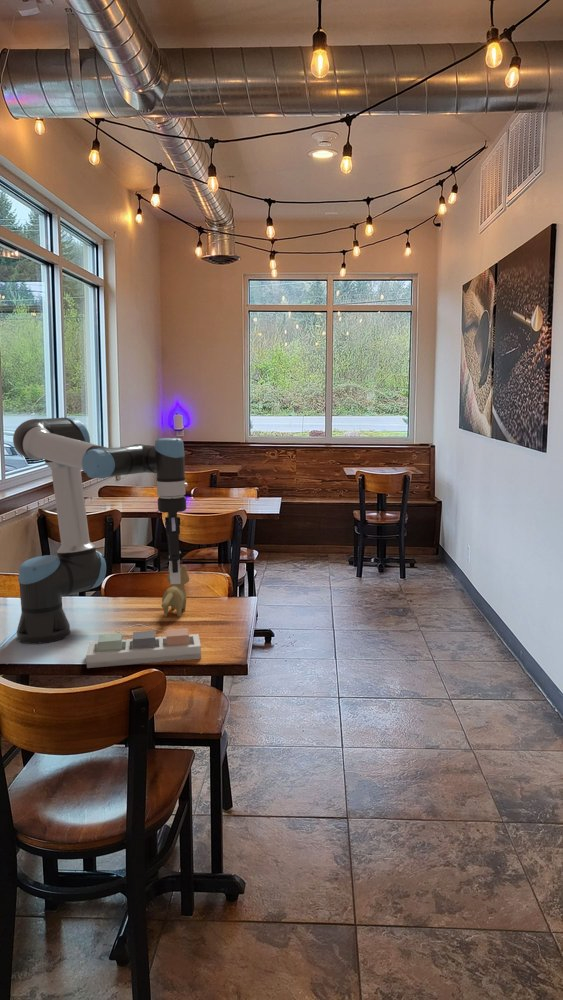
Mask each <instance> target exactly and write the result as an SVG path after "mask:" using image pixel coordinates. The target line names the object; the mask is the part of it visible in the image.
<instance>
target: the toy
mask: <svg viewBox="0 0 563 1000" xmlns="http://www.w3.org/2000/svg"><path fill="white" fill-rule="evenodd" d="M180 579H181V584H170V587H168V588H167V589H166V590H165V591H164V594H163V595H162V598H161V608H162V609H163V615H164V617H165V618H166V617H168V616H169V613H168V610H169V607H170V608H171V610H176V614H177V615H176V616H177V618H180V617H182V610H186V608H187V590H186V589H185V585H187V583H188V582H190V575H189V574H188V568H187V565H186V564H183V565H181V566H180ZM167 582H168V583H170V569H169V568H168V574H167Z"/></svg>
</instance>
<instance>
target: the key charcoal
mask: <svg viewBox="0 0 563 1000" xmlns="http://www.w3.org/2000/svg"><path fill="white" fill-rule="evenodd" d="M132 636H133V637H132V639H133V648H138V647H151V646H156V641H155V637H156V629H152V630H144V631H143V630H142V631H133V632H132Z"/></svg>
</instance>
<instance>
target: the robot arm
mask: <svg viewBox="0 0 563 1000" xmlns="http://www.w3.org/2000/svg"><path fill="white" fill-rule="evenodd" d="M12 437H13V438H12V441H13V443H12V444H13V446H14V448H15V450H16V451H17V452H18V454H19V455H21V456H22V457H24V458H27V459H30V460H33V461H41V460H43V459H44V463H45V465H46V466H48V467H49V468H50V470H51V476H52V478H51V479H52V484H53V493H54V498H55V499H54V501H55V507H56V515H57V522H58V529H59V530H58V531H59V538H60V544H61V545H60V547H59V548H58V550H57V551H56V553H57V555H56V554H55V555H54V554H49V555H48V554H47V555H45V554H44V555H43V556H41V555H40V556H35V557H32V558H29V559H27V560H25V561H24V562H22V563H21V564H20V566H19V568H18V579H17V580H18V583H19V585H18V586H19V596H20V597H19V598H20V608H21V613H20V616H19V617H20V618H19V622H18V625H17V629H16V639H17V641H18V642H20V643H24V644H31V645H32V644H33V645H34V644H37V645H39V644H47V643H52V642H53V643H54V642H56V641H60V640H62V639H64V638H66V637H68V636H69V635H70V634H71V626H70V623H69V620H68V618H67V616H66V613H65V610H64V608H63V597H67V596H70V595H74V594H77V593H81V592H86V591H91V589H95V588H97V587H99V586H100V585H101V584H102V583H103V581H104V579H105V578H106V575H107V562H106V560H105V559H106V558H105V557H104V556H103V554H102V553H101V552H100V551H99V550H97V547H96V545H95V544H94V543H92V541H90V535H89V526H88V524H89V523H88V517H87V509H86V502H85V494H84V488H83V487H84V486H83V485H84V484H83V480H82V479H83V477H82V471H83V472H84V474H86V476H87V477H88V478H91V479H106V478H111V477H118V476H126V475H127V476H128V475H135V474H136V475H137V474H143V473H146V474H148V473H150V474H152V473H153V474H156V495H157V496H158V498H157V510H158V512H159V513H167V516H166V517H164V522H165V526H166V534H167V536H168V558H167V559H166V560H167V562H169V564H168V570H169V569H170V582H169V583H170V585H171V584H181V579H180V568H181V560H180V559H181V556H180V555H181V554H182V552H181V550H180V540H179V539H180V538H179V535H180V533H181V527H180V525H181V516H178V513H181V512H184V511H185V512H186V509H187V497H186V496H185V495H186V488H187V487H188V486H189V485H188V483H187V482H186V463H185V461H186V460H185V455H186V454H185V453H186V452H185V446H184V441H183V439H181V438H179V437H178V438H176V437H163V438H157V439H156V440H155V442H154V443H155V444H154V445H151V444H142V443H139V444H136V443H135V444H130V445H128V446H127V445H126V446H119V447H118V446H116V447H114V446H113V447H108V446H107V447H106V446H104V445H103V446H102V445H99V444H96V443H95V444H94V443H92V442H91V436H90V433H89V430H88V429H87V427H86V425H85V424H84V423H83V421H81V420H80V419H78V418H75V417H51V418H33V419H28V420H25V421H24V422H22V423H21V424H19V425H18V427H16V429H15V430H14V432H13V436H12Z"/></svg>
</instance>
